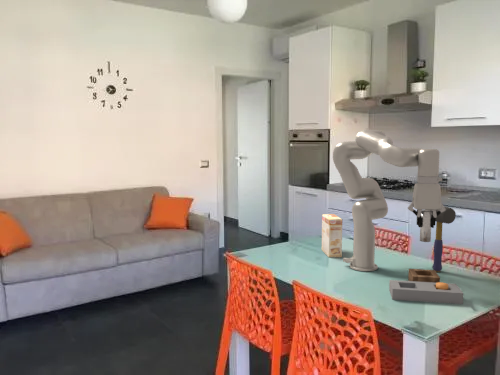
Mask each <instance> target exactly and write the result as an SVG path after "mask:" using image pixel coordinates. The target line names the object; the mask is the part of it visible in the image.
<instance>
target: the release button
mask: <svg viewBox="0 0 500 375" xmlns="http://www.w3.org/2000/svg"><path fill="white" fill-rule="evenodd" d="M447 283H448V282H441V281H440V282H437V283H436V289H441V290H448V284H447Z"/></svg>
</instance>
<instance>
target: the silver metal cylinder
mask: <svg viewBox="0 0 500 375" xmlns="http://www.w3.org/2000/svg"><path fill="white" fill-rule="evenodd" d="M421 218H422V221H421V227H419V242H424V243H431V242H432V240H431V239H432V227H431V222H432V211H430V210H422V211H421Z"/></svg>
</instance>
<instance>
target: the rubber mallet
mask: <svg viewBox="0 0 500 375" xmlns="http://www.w3.org/2000/svg"><path fill="white" fill-rule="evenodd" d="M443 206H444V205H443ZM444 207H445V209H446V210H445V211H444V212H442V213H440V214H439V215H438V216H437V217H436V221H435V228H436V229H435V239H434V242H433V243H434V244H433V263H432V264H433V265H432V270H435V271H436V273H440V272H441V271H442V270H443V265H442V260H443V259H442V256H443V250H444V247H443V246H444V245H443V224H446V225H447V224H448V225H449V224H452V223H453V222H455V219H456V216H457V213H456V211H455V209H453V208H452V207H449V206H444ZM430 211H431V210H430ZM436 211H437V210H436Z"/></svg>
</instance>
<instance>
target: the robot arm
mask: <svg viewBox="0 0 500 375" xmlns="http://www.w3.org/2000/svg"><path fill="white" fill-rule="evenodd" d="M373 154H375V155H378V156H379V157H380V158H381V160H382V161H384V162H386V163H388V164H390V165H392V166H395V167H398V168H409V167H410V168H412V167H413V168H414V167H417V180H416V181H417V183H415V184H414V186H413V193H412V201H411V202H410V204H409V205H408V207H407V210H408V211H410V212H412V213H413V214H414V215H415V216H416V225H417V227H418V228H420V227H421V221H422V218H421V211H422V210H431V211H432V222H431V229H434V228H435V226H436V217H437V216H438V215H439V214H440V213H442V212H444V211H445V210H446V209H445V207H444V204H443V203H442V190H441V184H440V182H443V178H442V177H440V176H439V173H440V172H439V170H440V151H439V149H436V148H422V147H421V148H420V147H399V146H397V145H396V146H395V145H394V144H393V139H392V138H391V137H388V136H386V133H385V132H384V131H382V130H380V129H364V130H360V131H359V132H358V133H356V135H355V141H341V142H339V143H337V144H336V145H335V146H334V148H333V150H332V161H333V164H334V166H335V168H336V170H337V172H338V173H339V176H340V178H341V180H342V183H343V185H344V188H345V190H346V193H347V194H348V196H349V198H350V199H353V200H358V201H356V202H354V204H353V205H352V207H351V214H352V215H351V216H352V220H353V244H352V245H353V248H352V249H353V252H352V256H350V257H343V258H342V261H343V263H347V264H349V268H350V269H352V270H355V271H358V272H359V271H360V272H374V271H376V270H378V265H377V264H376V263H375V250H376V248H375V247H376V245H375V244H376V228H375V225H374V222H373V220H378V219H383V218H385V217H386V216H387V215H388V211H389V207H388V203H387V201H386V197H385V196H384V194H383V192H382V190H381V187H380V185H379V183H378V182H377V181H376V180H375V179H374V178H372V177H362V176H361V174H360V172H359V169H358V167H357V166H356V165H355V164H354V163H353V162H352V161H351V160H361V159H362V160H363V159H366V158H368V157H370V156H371V155H373ZM436 210H437V211H436Z"/></svg>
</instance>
